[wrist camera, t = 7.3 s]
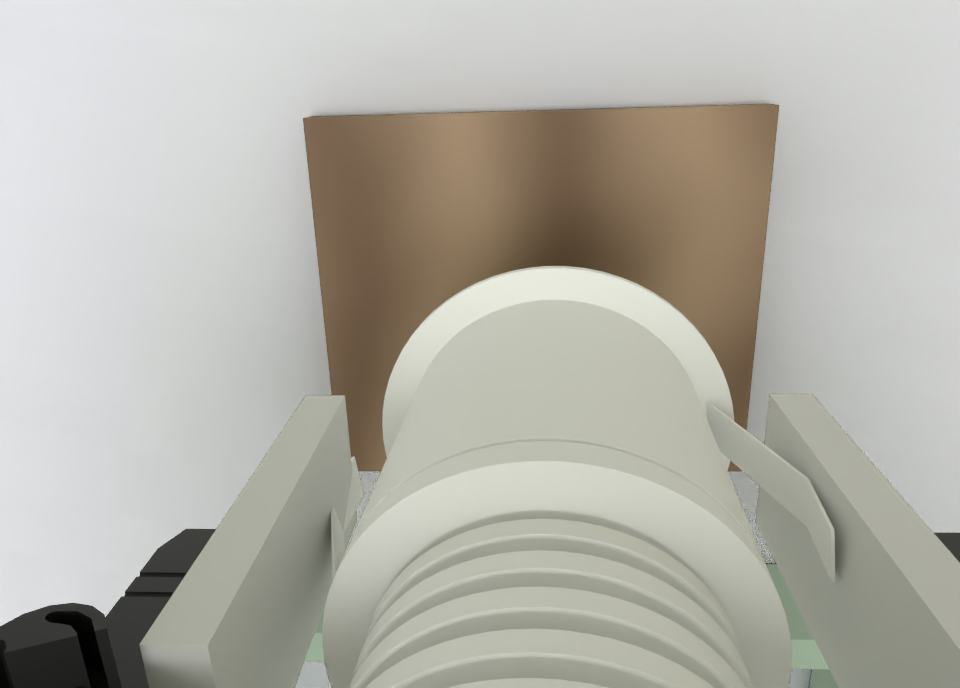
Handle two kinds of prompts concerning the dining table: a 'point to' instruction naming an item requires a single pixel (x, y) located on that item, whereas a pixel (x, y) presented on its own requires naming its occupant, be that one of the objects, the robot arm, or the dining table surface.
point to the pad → (534, 223)
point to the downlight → (561, 504)
